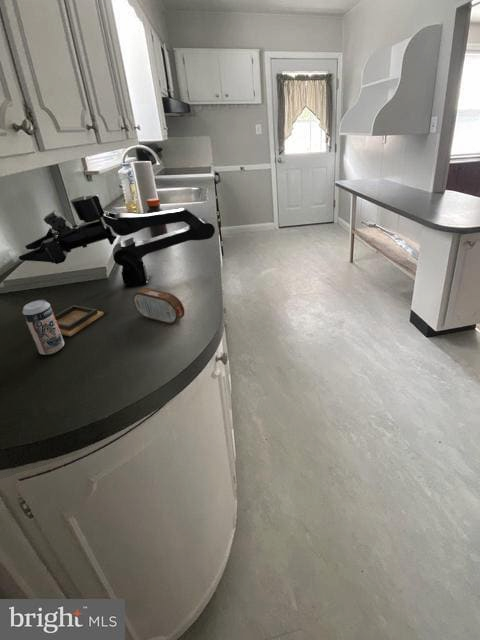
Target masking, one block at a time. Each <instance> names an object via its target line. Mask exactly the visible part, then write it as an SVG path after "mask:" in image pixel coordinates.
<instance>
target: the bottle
mask: <svg viewBox="0 0 480 640" xmlns="http://www.w3.org/2000/svg"><path fill="white" fill-rule="evenodd" d="M146 206H147V207H148V209H147V211H146V214H147V213H154V212H161V211H165V210H164V209H163V208H161V201H160V198H157V197H156V198H153V197H152V198H148V199H146ZM148 228H149V232H150V237H151V238H154V237H157V236H160V235H164V234H167V233H169V232H168V226H167V224H165V225H159V226H153V227H148Z"/></svg>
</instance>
